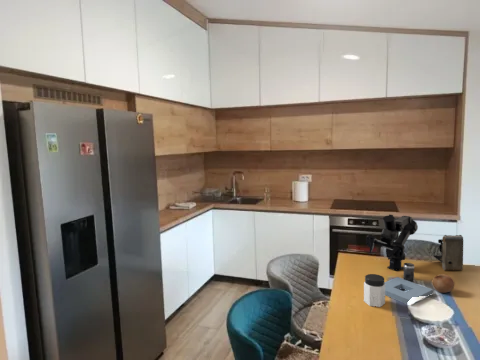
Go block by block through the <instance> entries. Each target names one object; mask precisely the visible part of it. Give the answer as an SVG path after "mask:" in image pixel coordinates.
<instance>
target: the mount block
mask: <svg viewBox="0 0 480 360" xmlns="http://www.w3.org/2000/svg"><path fill="white" fill-rule="evenodd" d="M384 284H385V297H386V296H387V297H388V298H390V297H391V299H393V300H395V299H396V301H398V302H400V301H401V303H402V302H403V304H405V303H406V304H405V305H407V302H408V301H409V300H410V299H411V298H412V297H419V296H428V295H430V294H432V293H433V292H434V289H433V288H430V287H427V286H424V285H421V284H418V283H415V282H414V283H413V282H410V281H407V280H404V279H403V278H401V277H399V276H398V277H395V278H392V279H390V280H387V281H384ZM400 288H403V289H406V290H409V291H406V290H403V289H400Z"/></svg>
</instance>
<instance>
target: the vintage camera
mask: <svg viewBox="0 0 480 360" xmlns="http://www.w3.org/2000/svg"><path fill="white" fill-rule="evenodd" d="M437 242H438V244H440V245H439V246H438V248H439V251H440V253H441V255H437V254H435V255H433V257H434V258H435V259H436V260H437V261H439V262H440V263H442V265H441V266H442V270H443V271H456V272H457V271H458V272H459V271H463V269H464V237H463V235H462V234H459V235H457V234H456V235H447V234H444V235H443V236H442V238H441V239H438V240H437Z"/></svg>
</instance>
